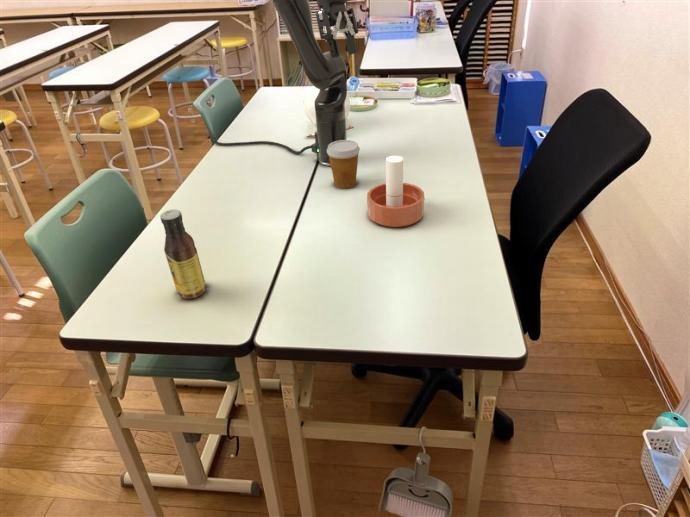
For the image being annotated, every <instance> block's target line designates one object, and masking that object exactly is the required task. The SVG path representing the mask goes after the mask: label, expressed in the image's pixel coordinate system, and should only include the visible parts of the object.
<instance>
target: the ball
mask: <svg viewBox="0 0 690 517" xmlns="http://www.w3.org/2000/svg"><path fill="white" fill-rule="evenodd" d="M319 91H320V89H317V88H316V87H314V86H313V85H312V86H311V87H309V88H308V89H307V90H306V92H305V96H304V100H303V108H304V114H305V117H306V118H307V119H308V120H309V121H310V122H311V124H312V125H313V126H315V127H316V116H315V105H314V102H315V99H316V97H317V96H318V94H319ZM350 98H351V97H350V93H349V92H348V91H347V96H346V100H345V119H346V121H347V120H348V118H349V114H350V111H351V108H352V106H351V99H350ZM347 127H348V128H347ZM347 127H346V131H350V130H352V129H354V126H351V125H349V126H347ZM306 137H307V138H315V134H313V135H312V134H311V133H308V135H306Z"/></svg>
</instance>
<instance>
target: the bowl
mask: <svg viewBox="0 0 690 517" xmlns="http://www.w3.org/2000/svg"><path fill="white" fill-rule="evenodd" d="M366 204H367V209H366V210H367V217H368V218H369V219H370V220H371V221H372V222H374V223H376V224H378V225H380V226H384V227H389V228H402V227H403V228H404V227H408V226H410V225H413V224H414V223H417V222H418V221H420V220H421V219H422V218H423V216H424V213H425V192H424V190H422V189H421V187H419V186H417V185H415V184H412V183H409V182H403V206H402V207H389V206H386V182H384V183H381V184H377V185H375V186H374V187H371V188H370V189H369V190H368V192H367V194H366Z"/></svg>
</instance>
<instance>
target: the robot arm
mask: <svg viewBox="0 0 690 517" xmlns="http://www.w3.org/2000/svg"><path fill="white" fill-rule="evenodd" d="M271 2H272V4H273V6H274V7H275V11H276V12H277V14H278V16H279V18H280V19H281V21H282V24H283V25H284V27H285V29H286V31H287V34H288V35H289V37H290V40H291V42H292V44H293V46H294V48H295V50H296V53H297V55H298V59H299V60H300V63H301V66H302V68H303V70H304V73H305V75H306V77H307V79H308V81H309V83H310V84H311V85H312V86H314V87H316V88H317V89H320V91H319V94H318V96H317V97H316V99H315V102H314V105H315V116H316V126H315V128H316V131H315V132H314V135H315V137H314V143H312V144H311V145H307V146H304V147H303V148H301V149H300V150H299V151H296V150H294V149H292V147H291V148H290V147H289V146H288V145H285V144H282V143H279V142H275V141H270V140H269V141H268V140H256V141H254V140H253V141H239V142H219V141H217V140H216V139H215V137H214V136H213V135H212V134H209V135H208V136H207V137H206V138H207V140H211V142H212V143H214V144H215V145H217V146H223V147H230V146H231V147H232V146H250V145H272V146H276V147H280V148H283V149H286V150H287V151H288V152H290V153H292V154H294V155H301V154H303V153H304V152H306V151H307V150H310V149H311V153H314V154H316V161H317V162H318V163H319V164H320V165H322V166H326V167H331V164H330V159H329V155H328V153H327V149H328V145H329V144H330V143H332V142H335V141H339V140H348V139H347V130H346V129H347V122H346V121H347V120H346V119H345V100H346V96H347V92H348V72H347V65H346V62H345V60H344V58H343V56H342V55H341V52H340V47H339V43H338V39H337V35H338V31H339V33H342V35H343V37H344V38H345V44H346V49H347V53H348V55H354V54H355V55H356V54H357V53H358V48H357V44H356V38H355V37H356V35H357V34H359V27H358V23H357V20H356V15H355V11H354V8H353V7H350V8H346V3H347V2H349V0H316V4H317V8H318V9H321V10H318V11H316V12H315V18H316V23H317V27H318V33H319V37H320V39H321V40H325V42H326V43H327V46H328V49H329V51H326V52H323V51H322V49H321V47H320V45H319V43H318V41H317V39H316V36H315V33H314V25H313V14H312V9H311V8H312V7H311V4H310V1H309V0H271Z"/></svg>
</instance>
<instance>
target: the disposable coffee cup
mask: <svg viewBox="0 0 690 517" xmlns="http://www.w3.org/2000/svg"><path fill="white" fill-rule="evenodd" d="M360 151H361V148H360V146H359V144H358V142H356V141H354V140H351V139H349V140H348V139H347V140H339V141H335V142H332V143H330V144H329V145H328V149H327V153H328V155H329V159H330V164H331V166H330V169H331V174H332V178H333V182H334V186H335V187H336V188H338V189H351V188H353V187H355V186H356V185H357V175H358V174H357V173H358V164H359V154H360Z"/></svg>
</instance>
